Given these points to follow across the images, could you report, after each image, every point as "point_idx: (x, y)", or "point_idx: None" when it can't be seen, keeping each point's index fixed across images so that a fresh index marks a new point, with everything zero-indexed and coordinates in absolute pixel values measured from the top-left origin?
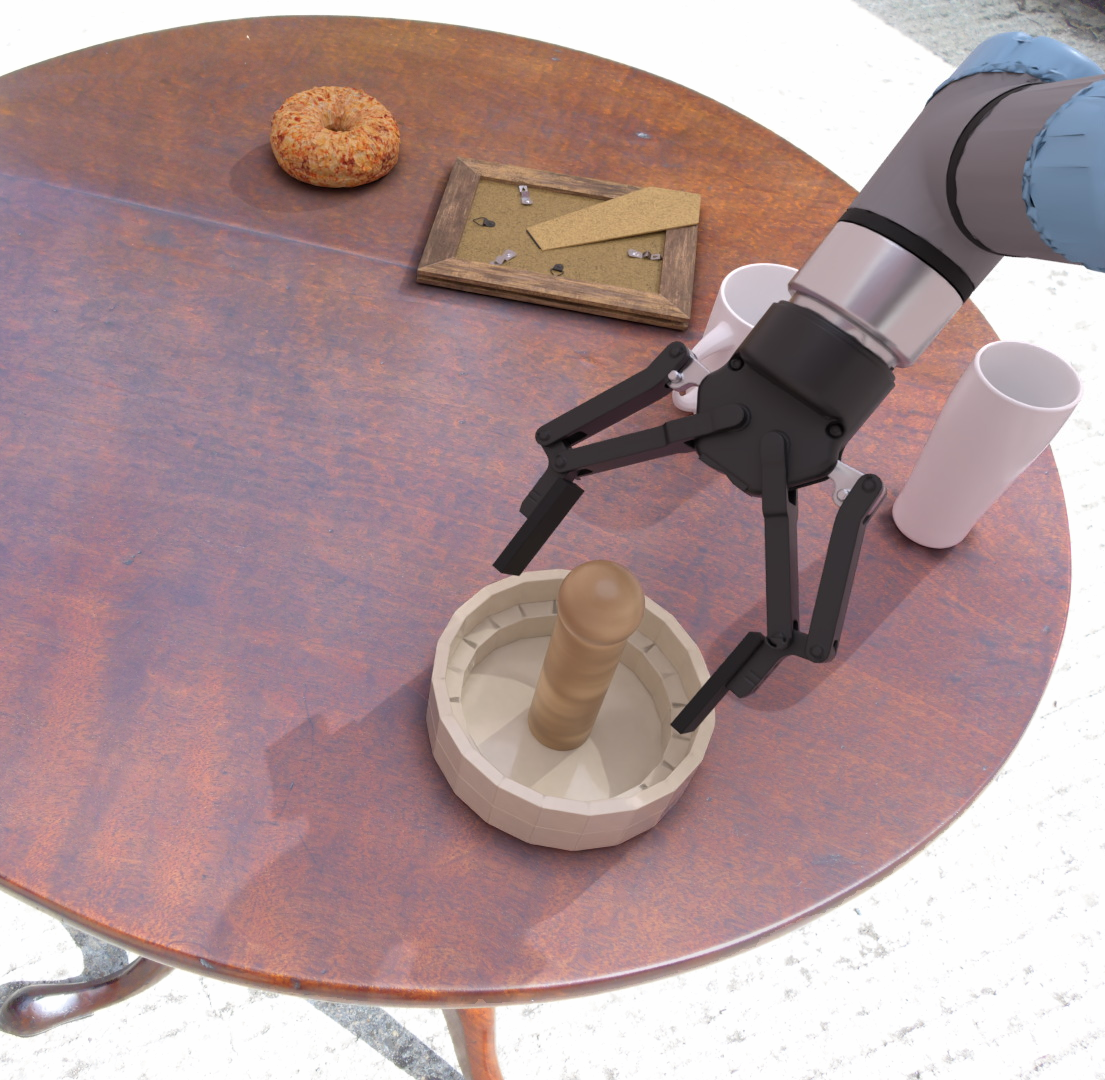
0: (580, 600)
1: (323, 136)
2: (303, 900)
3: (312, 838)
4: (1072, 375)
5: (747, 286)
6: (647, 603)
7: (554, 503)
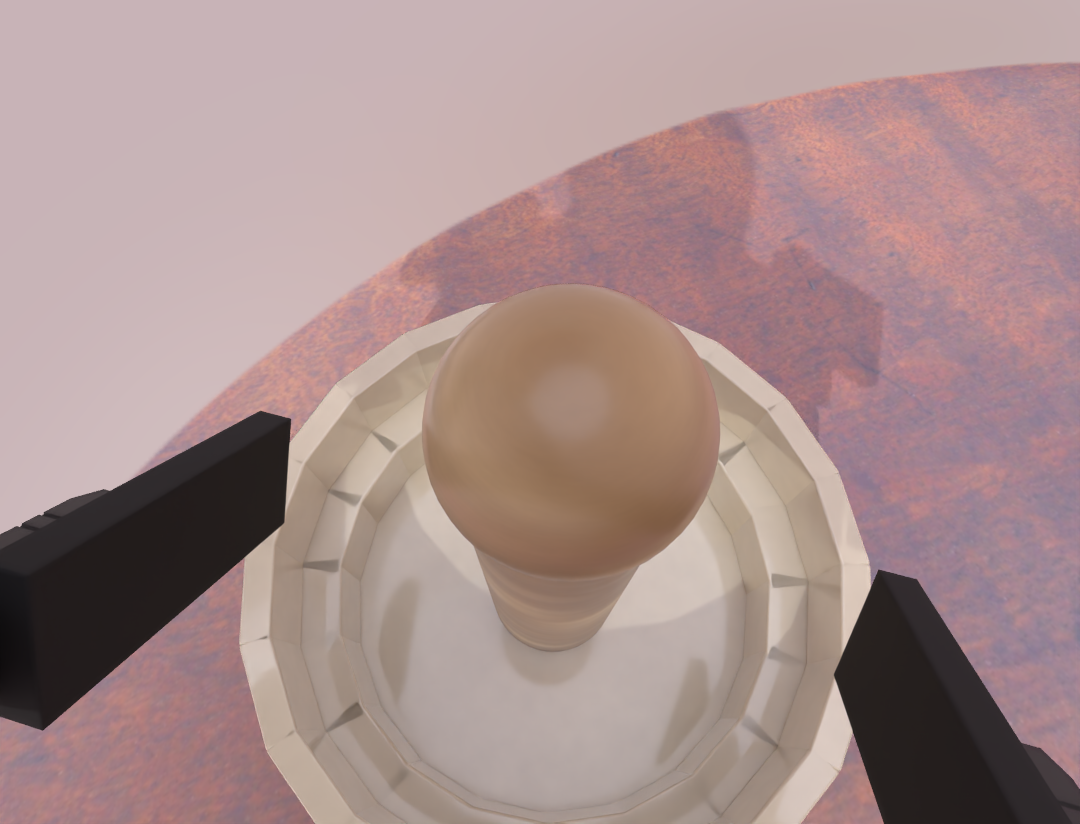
0: (617, 291)
1: None
2: (688, 193)
3: (735, 249)
4: None
5: None
6: None
7: (994, 780)
